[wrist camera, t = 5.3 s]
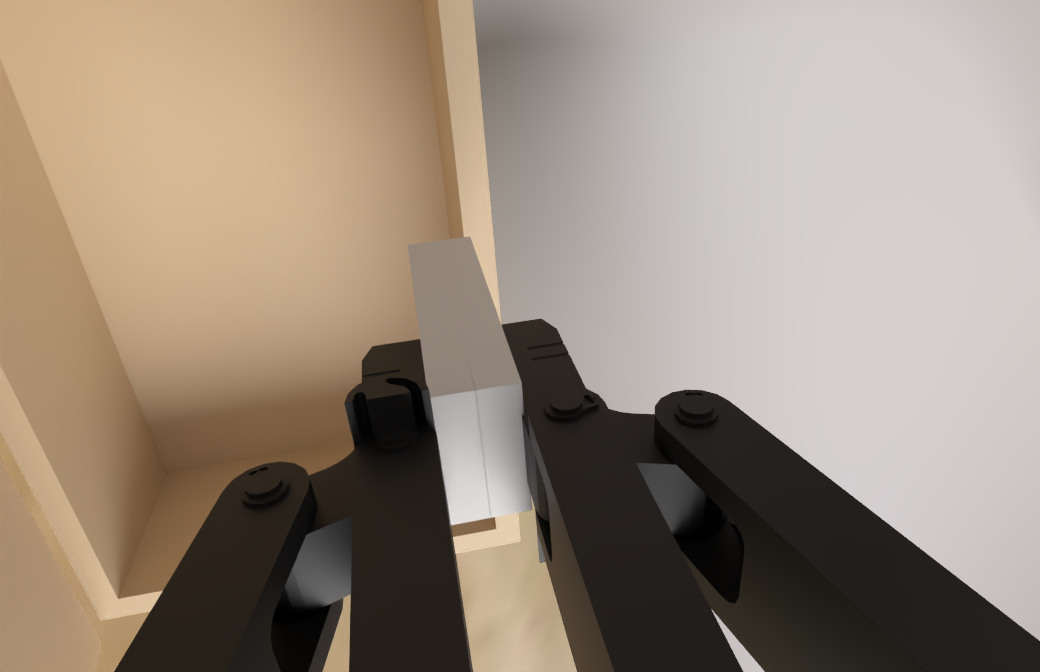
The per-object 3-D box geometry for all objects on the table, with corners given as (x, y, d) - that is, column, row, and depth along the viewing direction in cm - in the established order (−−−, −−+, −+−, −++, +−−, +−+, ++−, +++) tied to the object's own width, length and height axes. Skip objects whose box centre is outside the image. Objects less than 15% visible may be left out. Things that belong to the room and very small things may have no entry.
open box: (-115, -171, 18) (-352, -228, 12) (428, -198, 20) (454, -258, 14) (155, 481, 29) (100, 620, 23) (493, 425, 31) (523, 540, 25)
